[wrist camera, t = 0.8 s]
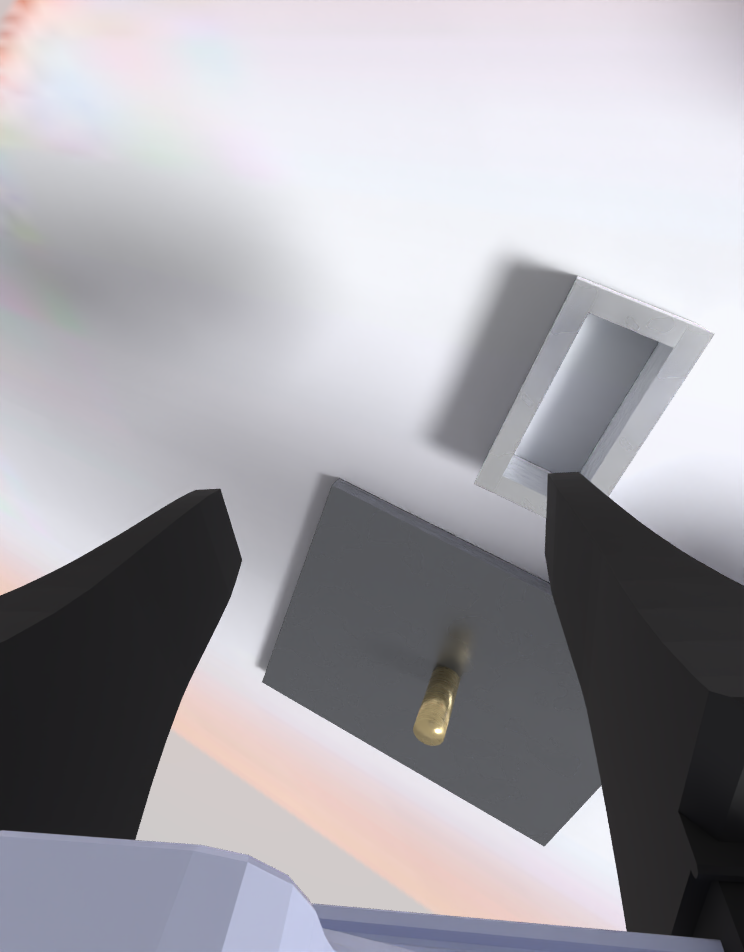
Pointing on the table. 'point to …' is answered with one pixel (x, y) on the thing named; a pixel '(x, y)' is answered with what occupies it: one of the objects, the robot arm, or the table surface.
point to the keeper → (439, 662)
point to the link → (633, 417)
